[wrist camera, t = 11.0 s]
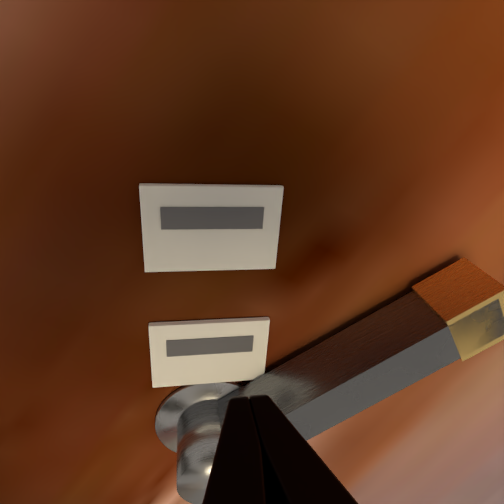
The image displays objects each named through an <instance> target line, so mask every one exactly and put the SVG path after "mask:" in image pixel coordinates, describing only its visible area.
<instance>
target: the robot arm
mask: <svg viewBox="0 0 504 504" xmlns="http://www.w3.org/2000/svg"><path fill="white" fill-rule="evenodd" d="M202 504H358V503H357V502H356V500H355V499H354V498H353V497H352V496H351V494H350V493H349V492H348V491H347V489H346V488H345V487H344V486H343V485H342V483H341V482H340V481H339V480H338V479H337V477H336V476H335V475H334V474H333V473H332V471H331V470H330V469H329V468H328V467H327V465H326V464H325V463H324V462H323V461H322V459H321V458H320V457H319V456H318V455H317V453H316V452H315V451H314V450H313V449H312V447H311V446H310V445H309V444H308V443H307V441H306V440H305V439H304V438H303V437H302V435H301V434H300V433H299V432H298V430H297V429H296V428H295V427H294V426H293V424H292V423H291V422H290V421H289V420H288V418H287V417H286V416H285V415H284V414H283V412H282V411H281V410H280V409H279V408H278V406H277V405H276V404H275V403H274V402H273V400H272V399H271V398H270V397H269V396H268V395H266V394H261V395H251V396H250V397H249V398H248V397H247V396H237V397H231V398H230V399H229V402H228V405H227V409H226V413H225V417H224V421H223V425H222V429H221V432H220V436H219V440H218V444H217V448H216V452H215V456H214V460H213V464H212V467H211V471H210V475H209V479H208V483H207V487H206V491H205V495H204V499H203V502H202Z"/></svg>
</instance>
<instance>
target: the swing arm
mask: <svg viewBox="0 0 504 504" xmlns="http://www.w3.org/2000/svg"><path fill="white" fill-rule="evenodd" d="M412 289H413V291H412V292H410V293H408V294H407V295H405V296H403V297H401V298H399V299H398V300H396V301H394V302H392V303H390V304H389V305H387V306H385V307H383V308H382V309H380V310H378V311H376V312H374V313H373V314H371V315H369V316H367V317H366V318H364V319H362V320H360V321H358V322H357V323H355V324H353V325H351V326H350V327H348V328H346V329H344V330H342V331H341V332H339V333H337V334H335V335H334V336H332V337H330V338H328V339H326V340H325V341H323V342H321V343H319V344H318V345H316V346H314V347H312V348H310V349H309V350H307V351H305V352H303V353H302V354H300V355H298V356H296V357H294V358H293V359H291V360H289V361H287V362H286V363H284V364H282V365H280V366H278V367H277V368H275V369H273V370H271V371H270V372H268V373H266V374H264V375H262V376H261V377H259V378H257V379H255V380H254V381H252V382H250V383H248V384H246V385H245V386H243V387H241V388H239V389H238V390H236V391H234V392H232V393H230V394H229V395H227V396H225V397H223V398H222V399H220V400H218V401H204V402H200V403H197V404H195V405H193V406H191V407H189V408H188V409H186V410H185V411H184V412H183V413H182V414H181V416H180V417H179V419H178V422H177V491H178V493H179V495H180V496H181V497H182V498H183V499H184V500H186V501H188V502H190V503H193V504H202V502H203V499H204V495H205V491H206V487H207V483H208V479H209V475H210V471H211V467H212V464H213V460H214V456H215V452H216V448H217V444H218V440H219V436H220V432H221V429H222V425H223V421H224V417H225V413H226V409H227V405H228V402H229V399H230V398H231V397H237V396H247V397H248V398H249V397H250V396H251V395H261V394H266V395H268V396H269V397H270V398H271V399H272V400H273V402H274V403H275V404H276V405H277V406H278V408H279V409H280V410H281V411H282V412H283V414H284V415H285V416H286V417H287V418H288V420H289V421H290V422H291V423H292V424H293V426H294V427H295V428H296V429H297V430H298V432H299V433H300V434H301V435H302V437H303V438H304V439H305V440H306V441H307V440H308V439H310V438H312V437H314V436H316V435H318V434H320V433H321V432H323V431H325V430H327V429H329V428H331V427H333V426H335V425H336V424H338V423H340V422H342V421H344V420H346V419H348V418H349V417H351V416H353V415H355V414H357V413H359V412H361V411H363V410H364V409H366V408H368V407H370V406H372V405H374V404H376V403H378V402H379V401H381V400H383V399H385V398H387V397H389V396H391V395H392V394H394V393H396V392H398V391H400V390H402V389H404V388H406V387H407V386H409V385H411V384H413V383H415V382H417V381H419V380H420V379H422V378H424V377H426V376H428V375H430V374H432V373H434V372H435V371H437V370H439V369H441V368H443V367H445V366H447V365H448V364H450V363H452V362H454V361H456V360H458V359H461V361H462V362H463V361H464V360H466V359H468V358H470V357H472V356H474V355H476V354H477V353H479V352H481V351H483V350H485V349H487V348H489V347H491V346H492V345H494V344H496V343H498V342H500V341H502V340H504V286H503V285H502V284H500V283H499V282H498V281H496V280H495V279H493V278H492V277H491V276H489V275H488V274H486V273H485V272H484V271H482V270H481V269H479V268H478V267H477V266H475V265H474V264H472V263H471V262H470V261H468V260H467V259H465V258H464V257H463V258H462V259H460V260H458V261H456V262H455V263H453V264H451V265H449V266H447V267H446V268H444V269H442V270H440V271H439V272H437V273H435V274H433V275H431V276H430V277H428V278H426V279H424V280H423V281H421V282H419V283H417V284H416V285H414V286H412Z"/></svg>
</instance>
